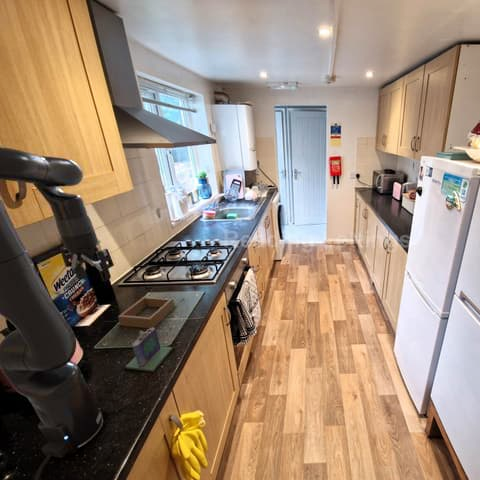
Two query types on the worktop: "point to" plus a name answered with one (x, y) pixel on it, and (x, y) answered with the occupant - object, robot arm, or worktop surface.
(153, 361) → the mat
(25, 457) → the worktop surface
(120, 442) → the worktop surface
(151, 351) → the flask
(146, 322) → the brown wooden tray
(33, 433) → the worktop surface
